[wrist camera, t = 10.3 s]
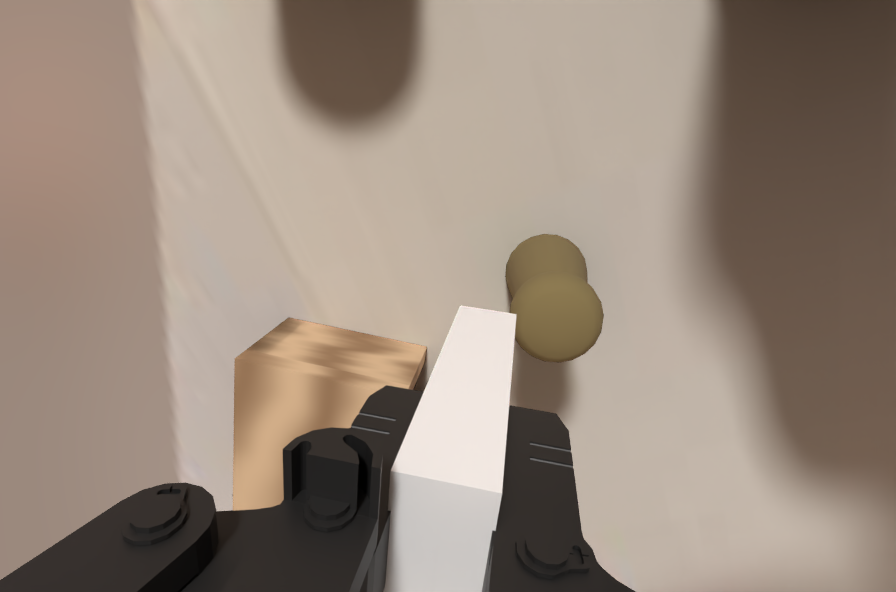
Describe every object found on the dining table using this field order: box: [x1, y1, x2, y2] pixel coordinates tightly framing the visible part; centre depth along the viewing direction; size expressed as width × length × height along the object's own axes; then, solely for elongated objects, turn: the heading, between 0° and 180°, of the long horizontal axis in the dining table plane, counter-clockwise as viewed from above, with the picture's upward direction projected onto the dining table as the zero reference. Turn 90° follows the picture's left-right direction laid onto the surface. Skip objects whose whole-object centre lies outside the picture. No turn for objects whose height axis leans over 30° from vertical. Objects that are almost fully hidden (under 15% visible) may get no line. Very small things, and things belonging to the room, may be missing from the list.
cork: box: [505, 234, 604, 362], centre depth 30 cm, size 6×6×11 cm
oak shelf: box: [233, 318, 427, 511], centre depth 38 cm, size 12×18×8 cm, turn 170°
